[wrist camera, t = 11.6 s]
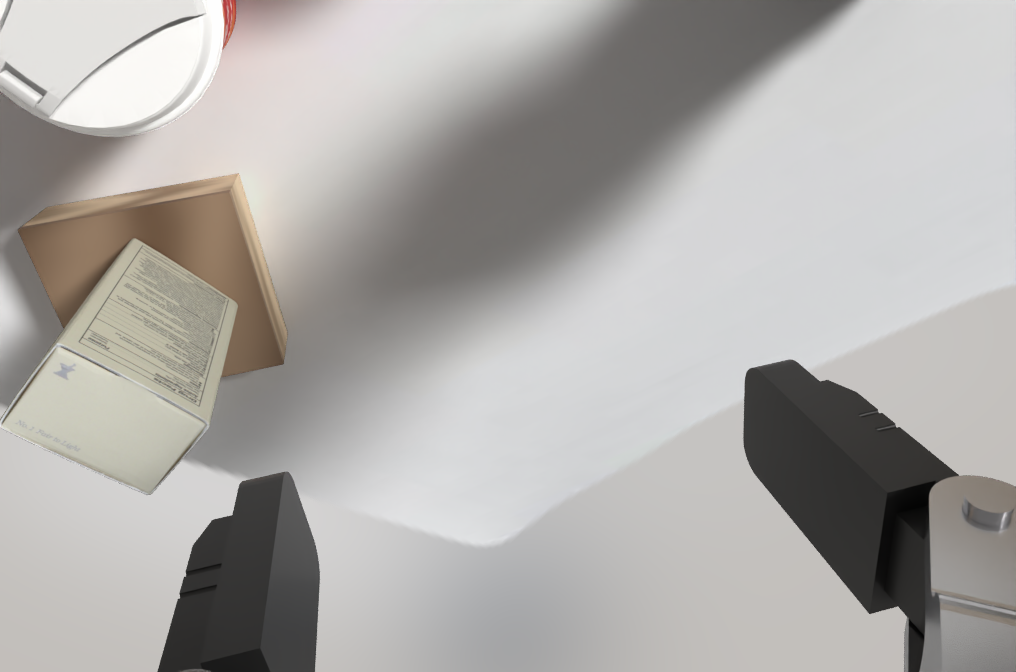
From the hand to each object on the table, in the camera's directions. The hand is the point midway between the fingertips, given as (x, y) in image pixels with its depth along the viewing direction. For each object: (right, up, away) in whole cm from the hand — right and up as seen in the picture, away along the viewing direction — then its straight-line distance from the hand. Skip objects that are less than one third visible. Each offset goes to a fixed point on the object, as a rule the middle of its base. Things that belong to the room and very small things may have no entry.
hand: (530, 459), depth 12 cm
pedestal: (-19, +6, +29) cm, 35 cm away
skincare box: (-18, +4, +25) cm, 31 cm away
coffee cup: (-17, +19, +23) cm, 34 cm away
